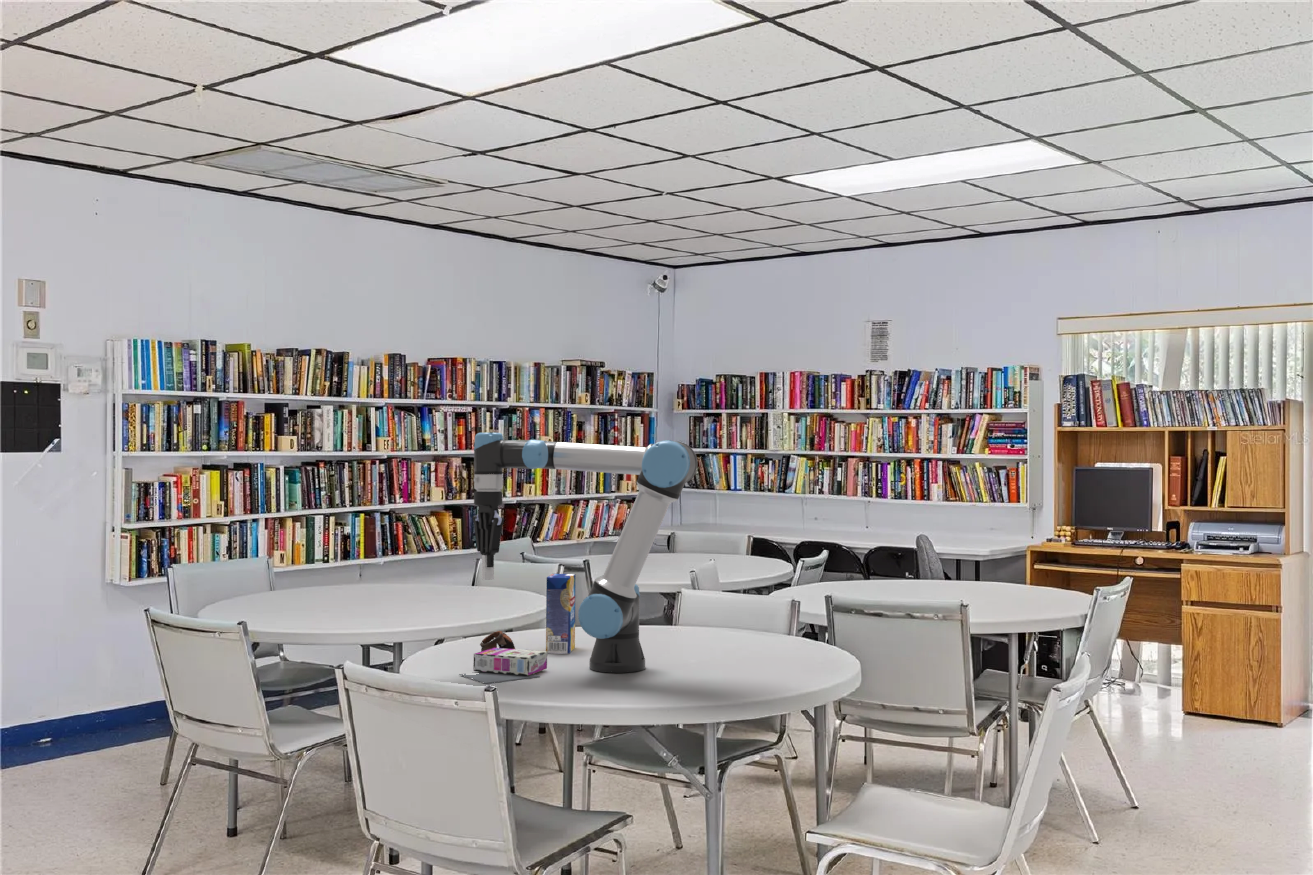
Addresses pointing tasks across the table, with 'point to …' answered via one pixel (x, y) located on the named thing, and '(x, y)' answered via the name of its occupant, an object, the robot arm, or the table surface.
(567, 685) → the table surface
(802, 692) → the table surface
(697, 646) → the table surface
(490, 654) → the candy bar box
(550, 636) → the beverage box
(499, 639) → the brown curved piece
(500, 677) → the mat
